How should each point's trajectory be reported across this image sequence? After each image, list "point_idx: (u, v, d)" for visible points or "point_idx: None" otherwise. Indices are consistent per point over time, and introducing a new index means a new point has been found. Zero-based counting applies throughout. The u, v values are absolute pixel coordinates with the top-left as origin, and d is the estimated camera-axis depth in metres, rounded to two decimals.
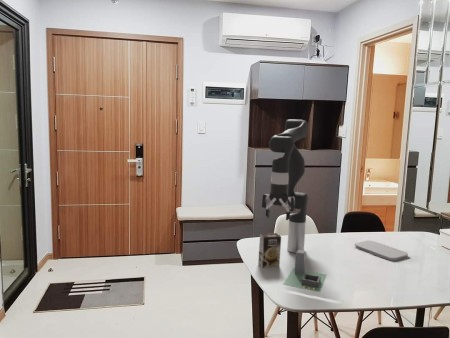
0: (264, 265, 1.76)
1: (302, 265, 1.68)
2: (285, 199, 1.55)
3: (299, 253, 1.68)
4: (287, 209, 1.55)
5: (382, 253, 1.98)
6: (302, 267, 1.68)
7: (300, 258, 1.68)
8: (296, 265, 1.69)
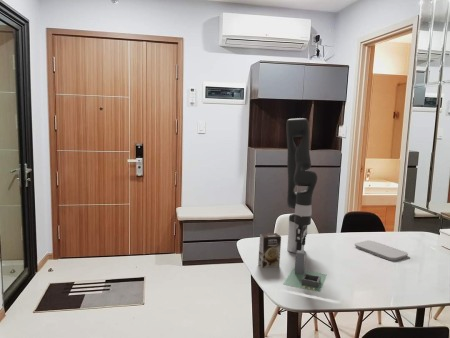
0: (264, 265, 1.76)
1: (302, 265, 1.68)
2: (305, 227, 1.70)
3: (299, 253, 1.68)
4: (305, 235, 1.72)
5: (382, 253, 1.98)
6: (302, 267, 1.68)
7: (300, 258, 1.68)
8: (296, 265, 1.69)
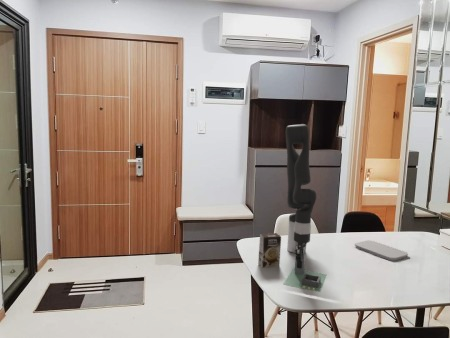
0: (264, 265, 1.76)
1: (302, 265, 1.68)
2: None
3: None
4: None
5: (382, 253, 1.98)
6: (302, 267, 1.68)
7: None
8: (296, 265, 1.69)
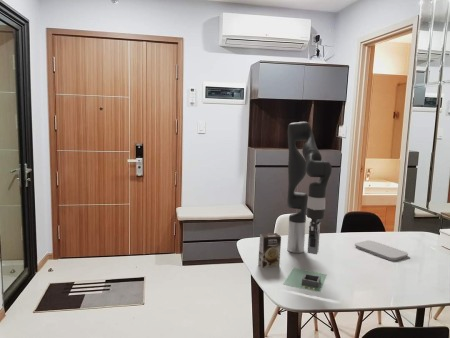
0: (264, 265, 1.76)
1: (316, 244, 1.55)
2: None
3: None
4: None
5: (382, 253, 1.98)
6: (315, 246, 1.55)
7: None
8: (309, 244, 1.56)
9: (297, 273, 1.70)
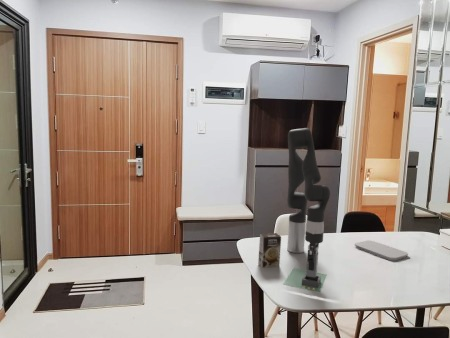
0: (264, 265, 1.76)
1: (314, 267, 1.56)
2: None
3: None
4: None
5: (382, 253, 1.98)
6: (314, 269, 1.56)
7: None
8: (308, 267, 1.57)
9: (297, 273, 1.70)
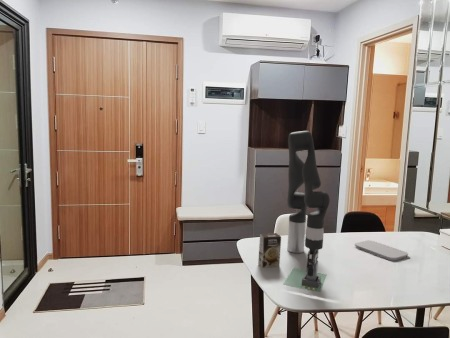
0: (264, 265, 1.76)
1: (314, 275, 1.57)
2: None
3: None
4: None
5: (382, 253, 1.98)
6: (313, 278, 1.57)
7: None
8: (307, 275, 1.58)
9: (297, 273, 1.70)
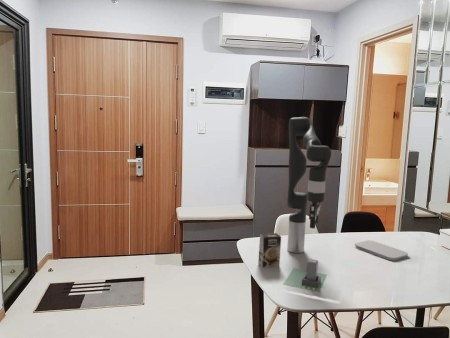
0: (264, 265, 1.76)
1: (314, 275, 1.57)
2: (318, 204, 1.64)
3: (311, 262, 1.57)
4: (318, 212, 1.66)
5: (382, 253, 1.98)
6: (313, 278, 1.57)
7: (311, 268, 1.57)
8: (307, 275, 1.58)
9: (297, 273, 1.70)
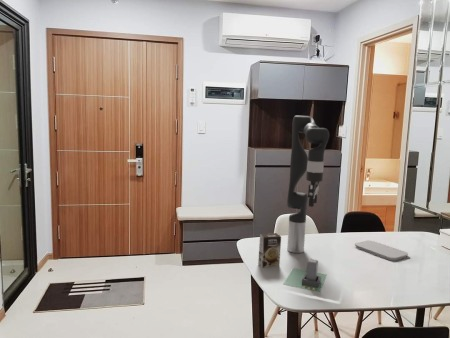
0: (264, 265, 1.76)
1: (314, 275, 1.57)
2: (317, 184, 1.72)
3: (311, 262, 1.57)
4: (317, 193, 1.74)
5: (382, 253, 1.98)
6: (313, 278, 1.57)
7: (311, 268, 1.57)
8: (307, 275, 1.58)
9: (297, 273, 1.70)
